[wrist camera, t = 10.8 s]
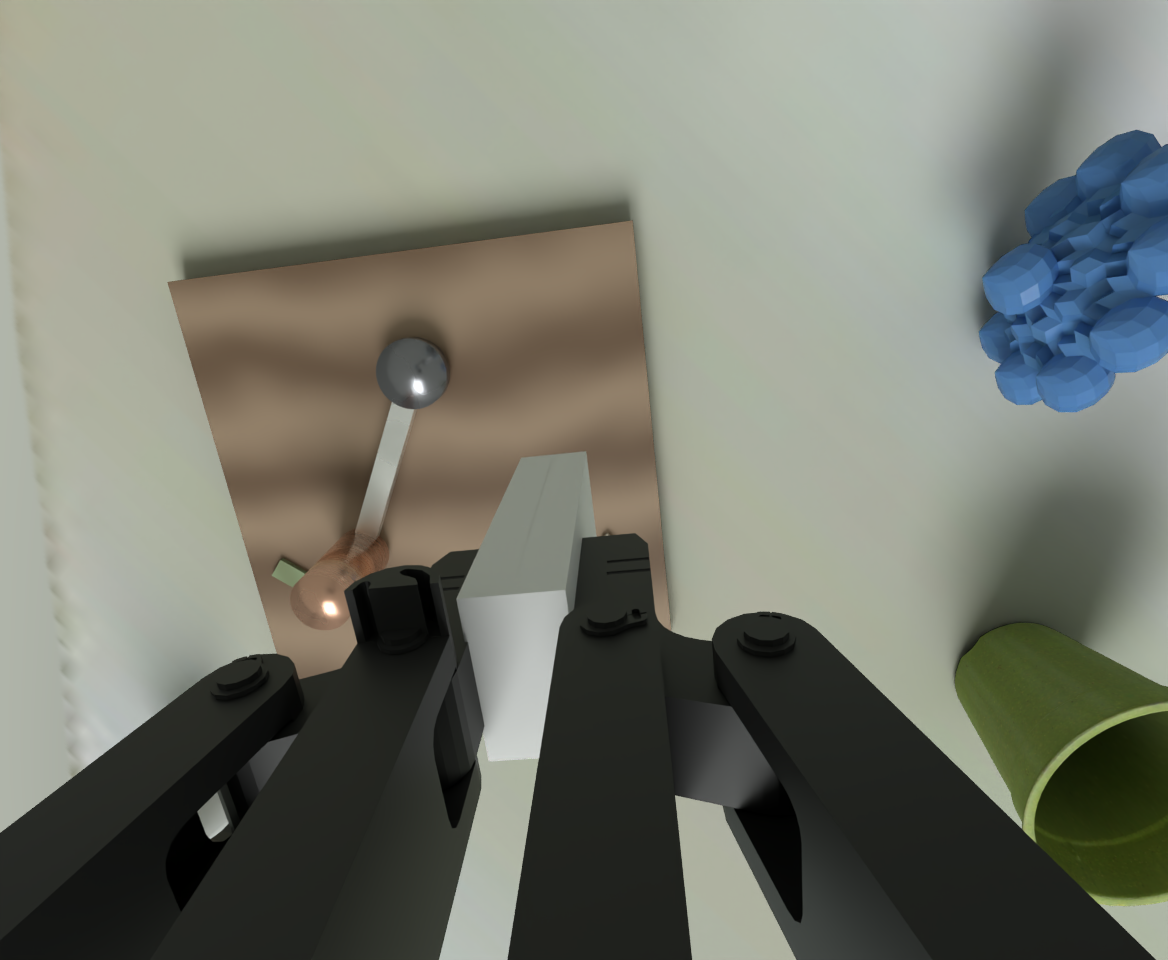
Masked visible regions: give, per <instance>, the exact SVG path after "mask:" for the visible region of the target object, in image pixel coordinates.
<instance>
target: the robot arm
mask: <svg viewBox="0 0 1168 960" xmlns="http://www.w3.org/2000/svg"><path fill="white" fill-rule="evenodd" d="M344 594H345V598H346V602H347V605H348V609H349V613H350V617H351V621H352V625H353V629H354V632H355V636H356V640H357V645H356V646H355V648H354V649H353V651H352V652H351V654H350V655H349V657H348V659H347V660H346V662H345V663H344V665H343V666H342V668H340V669H337V670H333V671H330V672H326V673H322V674H318V675H314V676H310V677H307V678H303V679H299V677H298V674H297V671H296V667H295V664H294V663H293V662H292V660H291V659H290V658H289V657H287V656H283V655H280V654H256V655H250V656H249V657H248V658H247V656H246V657H242V658H239V659H236V660H234V661H233V662H232V663H230V664H228V665H225V666H223V667H220V668H219V669H217V670H215V671H214V672H212V673H211V674H209V675H207V676H206V677H204V678H203V679H201V680H200V681H199V682H197V683H196V684H195V685H193V686H192V687H191V688H189V689H188V690H187V691H185V692H184V693H183V694H181V695H180V696H179V697H178V698H176V699H175V700H174V701H172V702H171V703H170V704H168V705H167V706H166V707H164V708H163V709H162V710H161V711H159V712H158V713H157V714H155V715H154V716H153V717H151V718H150V719H149V720H147V721H146V722H145V723H144V724H142V725H141V726H140V727H138V728H137V729H136V730H134V731H133V732H132V733H130V734H129V735H128V736H127V737H125V738H124V739H123V740H121V741H120V742H119V743H117V744H116V745H115V746H113V747H112V748H111V749H109V750H108V751H107V752H106V753H104V754H103V755H102V756H100V757H99V758H98V759H96V760H95V761H94V762H92V763H91V764H90V765H89V766H87V767H86V768H85V769H83V770H82V771H81V772H79V773H78V774H77V775H75V776H74V777H73V778H72V779H70V780H69V781H68V782H66V783H65V784H64V785H62V786H61V787H60V788H58V789H57V790H56V791H55V792H53V793H52V794H51V795H49V796H48V797H47V798H45V799H44V800H43V801H41V802H40V803H39V804H38V805H36V806H35V807H34V808H32V809H31V810H30V811H28V812H27V813H26V814H25V815H23V816H22V817H21V818H19V819H18V820H17V821H15V822H14V823H13V824H11V825H10V826H9V827H7V828H6V829H5V830H3V831H2V832H1V833H0V960H439V957H440V953H441V949H442V945H443V941H444V937H445V932H446V928H447V924H448V920H449V916H450V912H451V908H452V904H453V900H454V896H455V892H456V888H457V884H458V880H459V876H460V872H461V868H462V864H463V860H464V856H465V852H466V848H467V844H468V840H469V836H470V832H471V828H472V823H473V819H474V815H475V811H476V807H477V803H478V799H479V795H480V791H481V773H480V768H479V763H478V758H477V752H478V748H479V744H480V741H481V737H482V733H483V735H484V740H485V745H486V750H487V755H488V760H489V761H503V760H519V759H534V758H539V762H538V768H537V774H536V781H535V787H534V794H533V800H532V806H531V813H530V819H529V826H528V832H527V838H526V845H525V851H524V858H523V864H522V870H521V877H520V883H519V890H518V896H517V903H516V909H515V915H514V922H513V928H512V935H511V941H510V947H509V954H508V960H692V954H691V945H690V935H689V926H688V916H687V906H686V897H685V887H684V878H683V868H682V858H681V849H680V839H679V830H678V820H677V811H676V801H675V795H677V796H681V797H686V798H691V799H695V800H700V801H704V802H709V803H714V804H718V805H723V809H724V813H725V817H726V821H727V823H728V825H729V827H730V829H731V831H732V833H733V835H734V837H735V839H736V841H737V843H738V845H739V847H740V849H741V851H742V853H743V855H744V857H745V859H746V860H747V862H748V864H749V866H750V868H751V870H752V872H753V874H754V876H755V878H756V880H757V882H758V884H759V886H760V888H761V890H762V892H763V894H764V896H765V898H766V900H767V902H768V904H769V906H770V908H771V910H772V912H773V914H774V916H775V918H776V920H777V922H778V924H779V926H780V928H781V930H782V932H783V934H784V936H785V938H786V940H787V942H788V944H789V946H790V948H791V950H792V952H793V954H794V956H795V958H796V960H1156V959H1155V958H1154V957H1153V956H1152V955H1151V954H1150V953H1149V952H1148V951H1146V950H1145V949H1144V948H1143V947H1142V946H1141V945H1140V944H1139V943H1138V942H1137V941H1136V940H1135V939H1134V938H1133V937H1132V936H1131V935H1130V934H1129V933H1128V932H1127V931H1126V930H1125V929H1124V928H1123V927H1122V926H1121V925H1120V924H1119V923H1118V922H1117V921H1116V920H1115V919H1114V918H1113V917H1112V916H1111V915H1110V914H1108V913H1107V912H1106V911H1105V910H1104V909H1103V908H1102V907H1101V906H1100V905H1099V904H1098V903H1097V902H1096V901H1095V900H1094V899H1093V898H1092V897H1091V896H1090V895H1089V894H1088V893H1087V892H1086V891H1085V890H1084V889H1083V888H1082V887H1081V886H1080V885H1079V884H1078V883H1077V882H1076V881H1075V880H1074V879H1073V878H1071V877H1070V876H1069V875H1068V874H1067V873H1066V872H1065V871H1064V870H1063V869H1062V868H1061V867H1060V866H1059V865H1058V864H1057V863H1056V862H1055V861H1054V860H1053V859H1052V858H1051V857H1050V856H1049V855H1048V854H1047V853H1046V852H1045V851H1044V850H1043V849H1042V848H1041V847H1040V846H1039V845H1038V844H1037V843H1036V842H1035V841H1033V840H1032V839H1031V838H1030V837H1029V836H1028V835H1027V834H1026V833H1025V832H1024V831H1023V830H1022V829H1021V828H1020V827H1019V826H1018V825H1017V824H1016V823H1015V822H1014V821H1013V820H1012V819H1011V818H1010V817H1009V816H1008V815H1007V814H1006V813H1005V812H1004V811H1003V810H1002V809H1001V808H1000V807H999V806H998V805H996V804H995V803H994V802H993V801H992V800H991V799H990V798H989V797H988V796H987V795H986V794H985V793H984V792H983V791H982V790H981V789H980V788H979V787H978V786H977V785H976V784H975V783H974V782H973V781H972V780H971V779H970V778H969V777H968V776H967V775H966V774H965V773H964V772H963V771H962V770H961V769H960V768H958V767H957V766H956V765H955V764H954V763H953V762H952V761H951V760H950V759H949V758H948V757H947V756H946V755H945V754H944V753H943V752H942V751H941V750H940V749H939V748H938V747H937V746H936V745H935V744H934V743H933V742H932V741H931V740H930V739H929V738H928V737H927V736H926V735H925V734H924V733H923V732H922V731H920V730H919V729H918V728H917V727H916V726H915V725H914V724H913V723H912V722H911V721H910V720H909V719H908V718H907V717H906V716H905V715H904V714H903V713H902V712H901V711H900V710H899V709H898V708H897V707H896V706H895V705H894V704H893V703H892V702H891V701H890V700H889V699H888V698H887V697H886V696H885V695H883V694H882V693H881V692H880V691H879V690H878V689H877V688H876V687H875V686H874V685H873V684H872V683H871V682H870V681H869V680H868V679H867V678H866V677H865V676H864V675H863V674H862V673H861V672H860V671H859V670H858V669H857V668H856V667H855V666H854V665H853V664H852V663H851V662H850V661H849V660H848V659H847V658H845V657H844V656H843V655H842V654H841V653H840V652H839V651H838V650H837V649H836V648H835V647H834V646H833V645H832V644H831V643H830V642H829V641H828V640H827V639H826V638H825V637H824V636H823V635H822V634H821V633H820V632H819V631H818V630H817V629H815V628H814V627H812V626H811V625H809V624H808V623H806V622H805V621H803V620H801V619H798V618H795V617H792V616H789V615H786V614H782V613H776V612H772V613H770V612H757V613H749V614H743V615H740V616H737V617H734V618H731V619H728V620H727V621H725V622H724V623H723V624H721V625H720V626H719V627H717V628H716V630H715V633H714V635H713V638H712V641H706V640H699V639H693V638H688V637H684V636H681V635H679V634H676V633H673V632H672V631H670V630H668V629H667V628H665V627H664V626H663V625H662V624H661V623H660V622H659V621H658V619H657V616H656V613H655V605H654V596H653V586H652V577H651V568H650V559H649V549H648V543H647V542H645V541H644V540H643V539H642V538H641V537H639V536H638V535H637V534H636V533H630V534H619V535H608V536H596V528H595V520H594V512H593V503H592V495H591V487H590V479H589V470H588V462H587V454H586V451H584V452H574V453H564V454H554V455H544V456H534V457H524V458H521V459H520V461H519V464H518V466H517V468H516V470H515V472H514V474H513V477H512V479H511V481H510V483H509V485H508V488H507V490H506V492H505V494H504V496H503V498H502V501H501V503H500V505H499V507H498V509H497V511H496V514H495V516H494V518H493V520H492V522H491V525H490V527H489V529H488V531H487V533H486V535H485V538H484V540H483V542H482V544H481V546H480V548H479V549H475V550H464V551H452V552H449V553H448V554H446V555H445V556H444V557H442V558H441V559H440V560H438V561H437V562H436V563H434V564H433V565H432V566H431V568H430V567H426V566H423V565H403V566H397V567H392V568H386V569H383V570H380V571H377V572H374V573H371V574H369V575H367V576H365V577H363V578H361V579H359V580H357V581H355V582H354V583H352V584H351V585H350V586H349V587H348V588H347V589H345V590H344ZM216 793H218V796H219V799H220V801H221V804H222V807H223V810H224V812H225V815H226V818H227V820H228V823H229V824H228V825H227V826H226V827H225V828H224V829H223V830H222V831H221V832H219V833H218V834H217V835H215V836H214V837H212V838H211V839H210V838H209V837H208V836H207V835H206V833H205V830H204V827H203V825H202V822H201V820H200V817H199V814H198V812H197V811H198V810H199V809H200V808H201V807H202V806H203V805H204V804H205V803H207V802H208V801H209V800H210V799H211V798H212V797H213V796H214V795H215V794H216Z"/></svg>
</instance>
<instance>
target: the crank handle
mask: <svg viewBox="0 0 1168 960" xmlns="http://www.w3.org/2000/svg"><path fill="white" fill-rule="evenodd" d="M376 378H377V382H378V385H379V387H380V389H381V391H382V392H383V394H384V395H385V396H386V397H387V398H388V399H389V400H390V401H391V402H392V403H391V407H390V410H389V414H388V417H387V421H386V425H385V428H384V432H383V435H382V439H381V442H380V446H379V449H378V453H377V456H376V460H375V463H374V467H373V470H372V474H371V477H370V481H369V484H368V488H367V491H366V495H365V498H364V502H363V505H362V509H361V513H360V516H359V520H358V523H357V527H356V529H353V530H350V531H348V532H346V533H345V534H344V535H343V536H342V537H341V538H340V539H339V540H338V541H337V542H336V543H335V544H334V545H333V546H332V547H331V548H330V549H329V550H328V551H327V552H326V553H325V554H324V555H323V556H322V557H321V558H320V559H319V560H318V561H317V562H316V563H315V564H314V565H313V566H312V567H311V568H310V569H309V571H308V572H307V573H306V574H305V575H304V576H303V577H302V578H301V579H300V580H299V581H298V582H297V583H296V584H295V585H294V587H293V588H292V591H291V594H290V604H291V608H292V610H293V612H294V614H295V615H296V617H297V618H298V619H299V620H300V621H301V622H302V623H304V624H305V625H307V626H309V627H311V628H313V629H317V630H333V629H336V628H338V627H340V626H341V625H343V624H344V623H345V622H346V621H347V620H348V618H349V617H350V613H349V609H348V605H347V602H346V598H345V594H344V590H345V589H347V588H348V587H349V586H350V585H351V584H352V583H354V582H355V581H357V580H359V579H361V578H363V577H365V576H367V575H369V574H371V573H374V572H377V571H380V570H383V569H385V567H386V566H387V564H388V560H389V550H388V547H387V545H386V543H385V541H384V540H383V539H382V538H381V537H380V536H379V535H380V532H381V529H382V525H383V522H384V519H385V515H386V512H387V508H388V505H389V502H390V498H391V495H392V492H393V488H394V485H395V482H396V478H397V475H398V471H399V468H400V465H401V461H402V458H403V455H404V451H405V448H406V444H407V441H408V438H409V434H410V431H411V428H412V424H413V421H414V418H415V414H416V411H417V409H421V408H425V407H427V406H429V405H431V404H433V403H434V402H435V401H437V400H438V399H439V398H440V397H441V396H442V395H443V394H444V393H445V391H446V389H447V387H448V385H449V381H450V366H449V363H448V360H447V358H446V356H445V354H444V353H443V352H442V350H441V349H440V348H439V347H438V346H437V345H435V344H434V343H433V342H431V341H429V340H427V339H424V338H420V337H407V338H403V339H400V340H397V341H395V342H393V343H391V344H389V345H388V346H387V347H386V348H385V349H384V350H383V351H382V352H381V354H380V356H379V358H378V361H377V364H376Z"/></svg>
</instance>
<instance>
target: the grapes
mask: <svg viewBox="0 0 1168 960" xmlns="http://www.w3.org/2000/svg"><path fill="white" fill-rule="evenodd" d="M1025 222H1026V227H1027V231H1028V233H1029V234H1030V236H1031V237H1032V238H1031V239H1030V240H1029V242H1028V243H1027V244H1021V245H1019V246H1018V247H1016V248H1014V249H1013V250H1011V251H1010V252H1008V253H1006V254H1005V255H1004V256H1002V257H1001V258H1000V259H999V260H998V261H997V262H996V263H995V264H994V265H993V266H992V267H991V268H990V269H989V270H988V271H987V272H986V274H985V275H984V276H983V277H982V280H983V287H984V291H985V295H986V298H987V300H988V301H989V303H990V304H991V306H992V307H993V309H994V310H996V311H999V312H998V313H996V314H995V315H994V316H993V317H992V318H990V319H989V320H988V321H987V322H986V323H985V324H984V326H983V327H982V328H981V330H980V331H979V337H980V341H981V345H982V348H983V350H984V351H985V353H986V354H987V356H988V357H989V358H990V359H992V360H994V361H996V362H998V363H1001V365H1000V366H999V367H998V369H997V370H996V371H995V378H996V382H997V386H998V388H999V390H1000V391H1001V393H1002V394H1003V396H1004V398H1006V399H1007V400H1009V401H1011V402H1013V403H1015V404H1016V405H1032V404H1034V403H1036V402H1038V401H1041V400H1043V402H1044V403H1045V405H1047V406H1049V407H1050V408H1052V409H1054V410H1056V411H1058V412H1078V411H1080V410H1083V409H1085V408H1087V407H1090V406H1092V405H1094V404H1096V403H1097V402H1098V401H1099V400H1100V399H1101V398H1102V397H1104V396H1105V395H1106V394H1107V393H1108V391H1109V390H1110V388H1111V387H1112V385H1113V384H1114V380H1115V373H1123V372H1137V371H1139V370H1141V369H1143V368H1146V367H1148V366H1150V365H1152V364H1155V363H1157V362H1158V361H1159V360H1160V359H1161V358H1162V357H1164V356H1165V355H1166V354H1167V353H1168V301H1166V300H1164V299H1161V298H1159V297H1157V296H1160V295H1168V144H1166V145H1164V146H1163V147H1161V146H1160V144H1159V143H1158V141H1157V139H1156V138H1155V136H1154V135H1153V134H1150V133H1146V132H1143V131H1139V130H1134V131H1131V132H1127V133H1124V134H1120V135H1117V136H1115V137H1113V138H1112V139H1110V140H1109V141H1107V142H1106V143H1104V144H1103V145H1101V146H1100V147H1098V148H1097V149H1096V150H1095V151H1094V152H1093V153H1092V154H1091V155H1090V156H1089V157H1088V158H1087V159H1086V160H1085V161H1084V162H1083V163H1082V164H1081V166H1080V167H1079V168H1078V169H1077V171H1076V175H1075V176H1071V177H1067V178H1063V179H1059V180H1058V181H1056V182H1055V183H1053V184H1052V185H1050V186H1049V187H1047V188H1046V189H1044V190H1043V191H1042V192H1041V193H1040V194H1039V195H1038V196H1037V197H1036V198H1035V199H1034V200H1033V201H1032V202H1031V203H1030V204H1029V205H1028V207H1027V208H1026V209H1025Z"/></svg>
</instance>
